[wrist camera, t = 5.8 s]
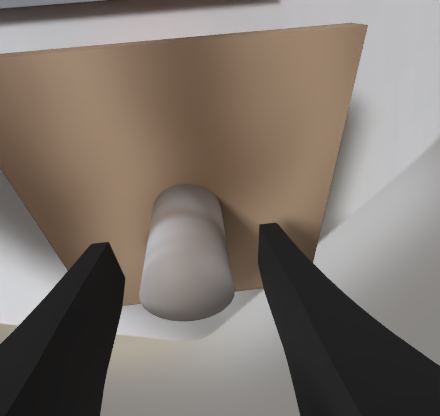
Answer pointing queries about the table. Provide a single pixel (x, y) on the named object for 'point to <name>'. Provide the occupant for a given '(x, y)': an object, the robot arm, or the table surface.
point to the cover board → (180, 152)
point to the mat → (37, 2)
